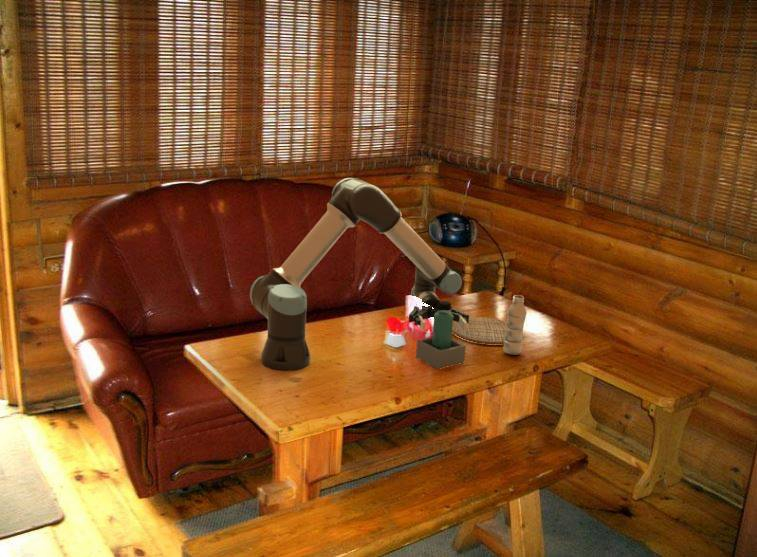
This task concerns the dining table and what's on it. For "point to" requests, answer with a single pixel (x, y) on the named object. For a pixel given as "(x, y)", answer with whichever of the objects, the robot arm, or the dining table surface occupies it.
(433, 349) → the bottle holder
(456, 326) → the trivet
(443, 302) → the beverage bottle
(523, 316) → the plastic bottle
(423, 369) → the dining table surface
